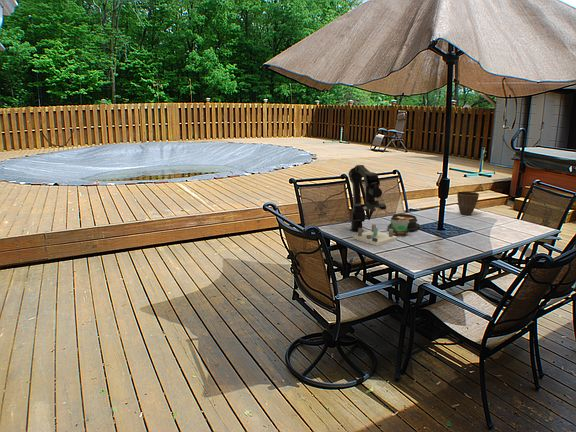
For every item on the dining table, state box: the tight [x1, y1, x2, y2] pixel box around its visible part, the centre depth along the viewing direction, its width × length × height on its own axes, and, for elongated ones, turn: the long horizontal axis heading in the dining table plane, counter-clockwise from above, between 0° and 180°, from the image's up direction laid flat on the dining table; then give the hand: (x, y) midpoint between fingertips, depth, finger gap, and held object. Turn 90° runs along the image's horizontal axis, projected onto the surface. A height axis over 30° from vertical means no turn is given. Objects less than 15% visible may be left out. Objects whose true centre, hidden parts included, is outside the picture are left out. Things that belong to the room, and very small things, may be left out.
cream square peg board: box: [352, 223, 398, 247], centre depth 260 cm, size 18×18×6 cm
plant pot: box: [456, 191, 480, 217], centre depth 319 cm, size 15×15×16 cm
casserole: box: [387, 213, 421, 232], centre depth 282 cm, size 25×19×8 cm
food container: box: [390, 218, 409, 237], centre depth 267 cm, size 12×6×10 cm, turn 105°
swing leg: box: [367, 227, 379, 239], centre depth 257 cm, size 9×3×5 cm, turn 130°
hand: (368, 220), depth 258 cm, fingers closed
